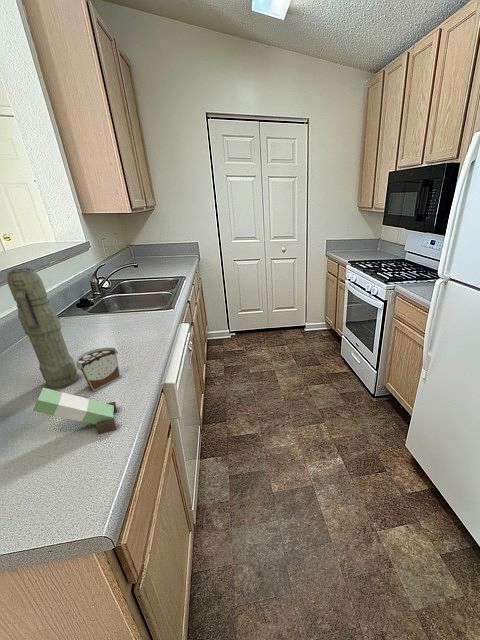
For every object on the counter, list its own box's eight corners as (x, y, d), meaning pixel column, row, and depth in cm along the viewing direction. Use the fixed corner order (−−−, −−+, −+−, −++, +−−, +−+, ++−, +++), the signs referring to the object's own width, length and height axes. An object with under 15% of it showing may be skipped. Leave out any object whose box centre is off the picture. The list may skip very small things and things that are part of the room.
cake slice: (111, 371, 111) (103, 344, 107) (124, 375, 109) (116, 347, 104) (75, 389, 101) (65, 359, 97) (88, 393, 99) (78, 363, 94)
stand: (98, 434, 82) (95, 425, 81) (101, 412, 90) (98, 405, 89) (116, 429, 83) (114, 421, 82) (117, 408, 92) (115, 401, 90)
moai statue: (42, 393, 99) (-8, 275, 84) (50, 376, 109) (7, 267, 93) (76, 386, 102) (34, 272, 87) (81, 370, 112) (44, 265, 97)
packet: (32, 411, 75) (37, 399, 75) (38, 398, 80) (43, 387, 80) (108, 427, 84) (113, 417, 84) (109, 414, 89) (113, 405, 89)
